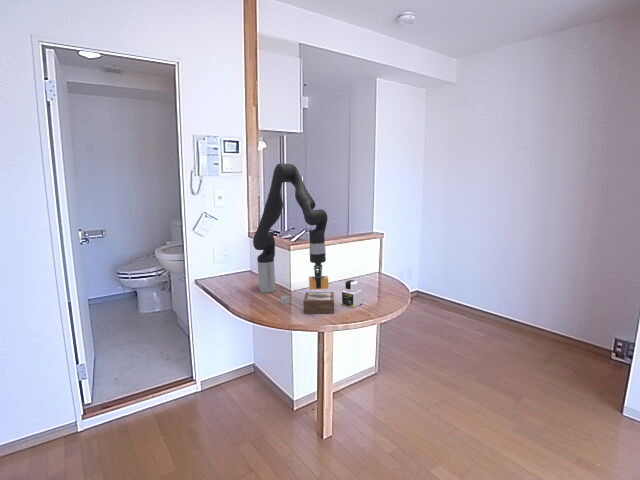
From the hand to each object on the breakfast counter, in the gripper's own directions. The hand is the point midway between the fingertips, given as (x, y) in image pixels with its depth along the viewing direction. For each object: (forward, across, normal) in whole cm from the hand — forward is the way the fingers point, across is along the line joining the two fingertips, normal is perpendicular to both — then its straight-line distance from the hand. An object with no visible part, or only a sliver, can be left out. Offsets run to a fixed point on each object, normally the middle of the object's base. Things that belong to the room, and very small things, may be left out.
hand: (318, 286), depth 180 cm
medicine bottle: (+11, +5, -16) cm, 20 cm away
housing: (+1, 0, 0) cm, 1 cm away
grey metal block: (+11, +10, +18) cm, 24 cm away
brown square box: (+11, 0, 0) cm, 11 cm away
